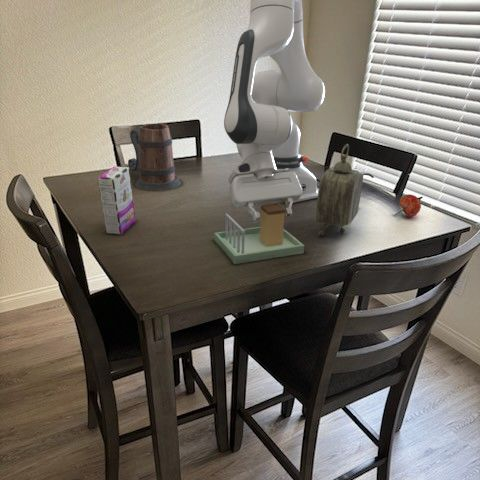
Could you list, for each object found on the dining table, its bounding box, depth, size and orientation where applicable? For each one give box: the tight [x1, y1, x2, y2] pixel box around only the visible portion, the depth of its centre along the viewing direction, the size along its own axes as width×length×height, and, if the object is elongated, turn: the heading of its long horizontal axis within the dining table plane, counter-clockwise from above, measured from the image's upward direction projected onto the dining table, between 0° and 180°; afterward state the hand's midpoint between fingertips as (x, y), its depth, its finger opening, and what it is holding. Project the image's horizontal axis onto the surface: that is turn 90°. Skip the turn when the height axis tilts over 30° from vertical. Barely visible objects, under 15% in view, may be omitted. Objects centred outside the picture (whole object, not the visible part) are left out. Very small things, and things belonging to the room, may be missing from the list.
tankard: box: [127, 123, 182, 192], centre depth 174 cm, size 24×17×20 cm
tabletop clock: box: [315, 143, 364, 237], centre depth 135 cm, size 14×9×25 cm, turn 155°
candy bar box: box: [97, 165, 136, 235], centre depth 137 cm, size 11×5×16 cm, turn 168°
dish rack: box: [213, 213, 305, 265], centre depth 130 cm, size 20×16×8 cm
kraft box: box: [259, 203, 286, 247], centre depth 130 cm, size 5×5×10 cm
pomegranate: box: [393, 193, 424, 218], centre depth 153 cm, size 7×7×10 cm
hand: (273, 217), depth 129 cm, fingers open, 8 cm apart
